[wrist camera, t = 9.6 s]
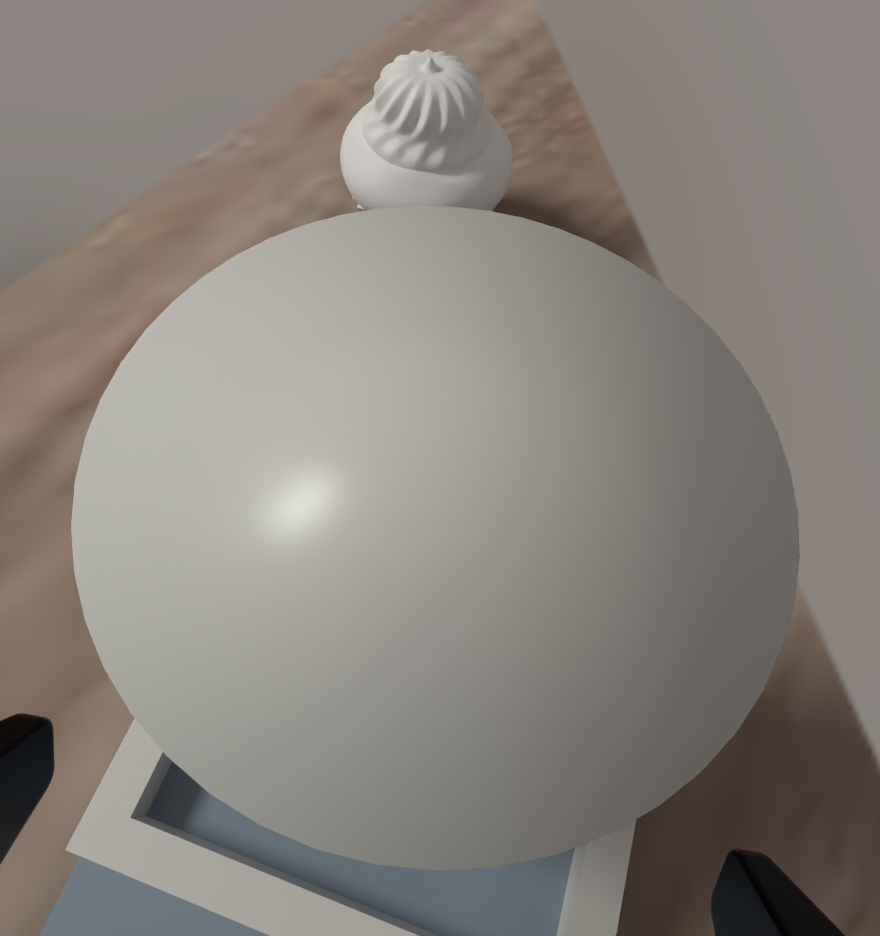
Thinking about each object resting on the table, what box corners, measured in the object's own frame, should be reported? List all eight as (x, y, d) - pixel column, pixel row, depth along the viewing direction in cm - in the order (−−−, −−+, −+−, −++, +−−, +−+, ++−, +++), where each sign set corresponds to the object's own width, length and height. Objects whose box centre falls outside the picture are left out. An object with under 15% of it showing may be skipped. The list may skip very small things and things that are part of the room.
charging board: (494, 1428, 12) (511, 1539, 10) (-59, 1160, 13) (-130, 1217, 11) (659, 564, 20) (684, 542, 18) (304, 445, 21) (295, 414, 19)
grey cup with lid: (429, 873, 15) (530, 1130, 4) (250, 703, 17) (-91, 492, 5) (569, 669, 17) (904, 423, 6) (401, 536, 19) (405, 129, 7)
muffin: (315, 244, 25) (286, 65, 19) (406, 162, 28) (407, -21, 21) (444, 319, 24) (459, 153, 18) (528, 225, 26) (567, 50, 20)
